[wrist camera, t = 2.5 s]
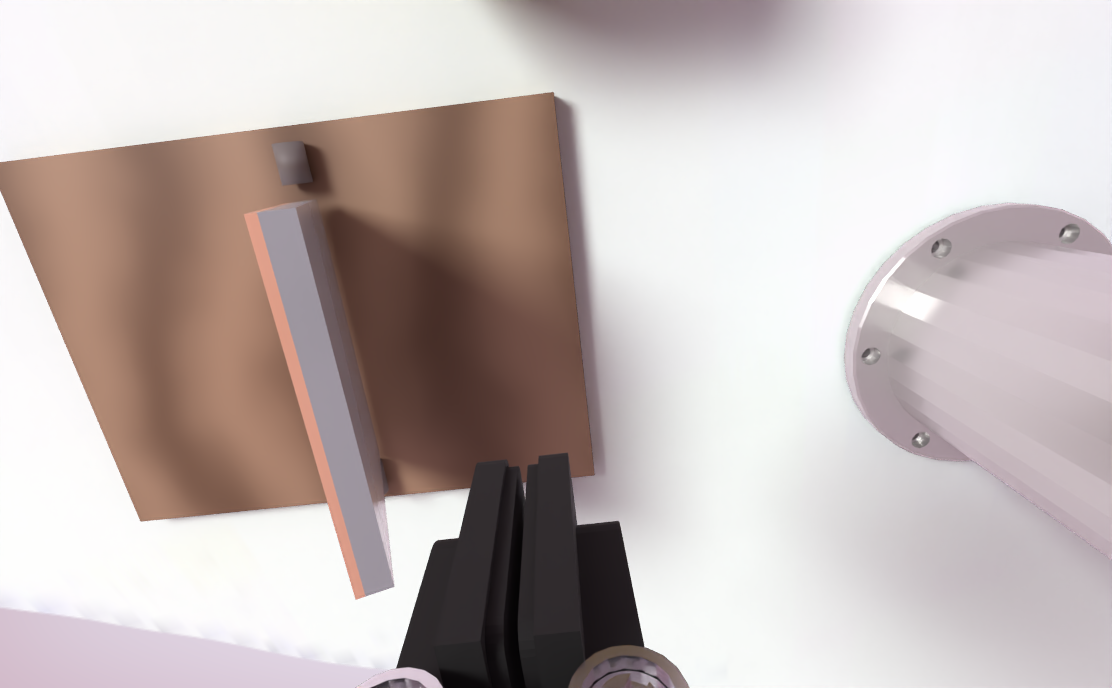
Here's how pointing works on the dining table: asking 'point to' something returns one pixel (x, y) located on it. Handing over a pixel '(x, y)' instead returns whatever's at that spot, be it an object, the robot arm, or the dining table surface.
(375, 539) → the tile
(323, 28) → the dining table surface
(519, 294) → the hinge board
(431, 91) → the dining table surface
